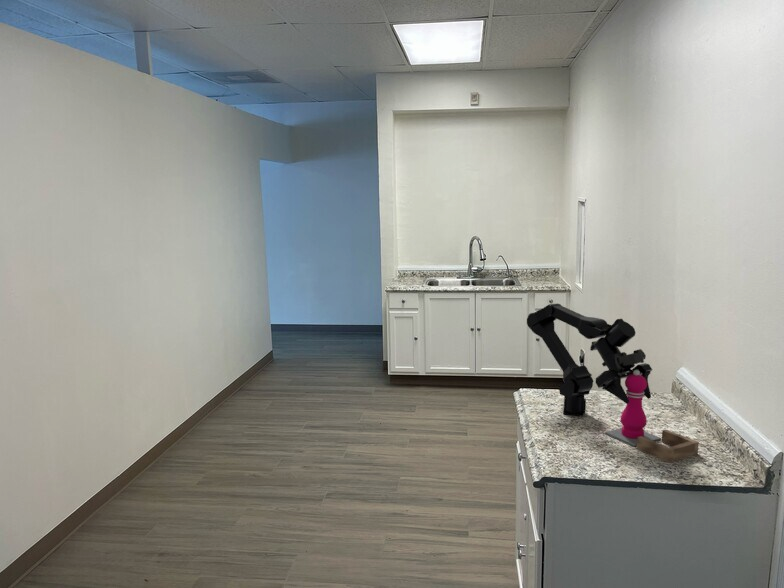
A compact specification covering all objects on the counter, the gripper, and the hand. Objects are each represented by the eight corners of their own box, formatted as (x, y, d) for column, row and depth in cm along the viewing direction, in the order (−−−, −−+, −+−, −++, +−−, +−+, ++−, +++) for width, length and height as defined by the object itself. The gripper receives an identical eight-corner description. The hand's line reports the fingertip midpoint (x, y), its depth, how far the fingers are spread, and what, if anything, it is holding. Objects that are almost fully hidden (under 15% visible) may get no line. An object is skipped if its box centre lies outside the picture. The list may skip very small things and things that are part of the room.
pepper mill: (645, 431, 182) (649, 367, 179) (646, 440, 175) (650, 374, 172) (619, 428, 184) (623, 365, 181) (619, 437, 178) (623, 371, 175)
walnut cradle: (636, 448, 171) (637, 437, 171) (664, 440, 177) (665, 429, 176) (669, 462, 162) (670, 450, 162) (697, 454, 168) (698, 442, 167)
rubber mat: (604, 434, 182) (605, 432, 182) (630, 427, 187) (630, 425, 187) (635, 447, 172) (635, 445, 172) (660, 439, 178) (661, 438, 177)
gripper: (605, 344, 174) (634, 392, 166) (649, 337, 183) (678, 382, 175) (583, 364, 182) (610, 410, 174) (626, 356, 191) (653, 400, 183)
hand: (639, 400), depth 177 cm, fingers open, 9 cm apart
